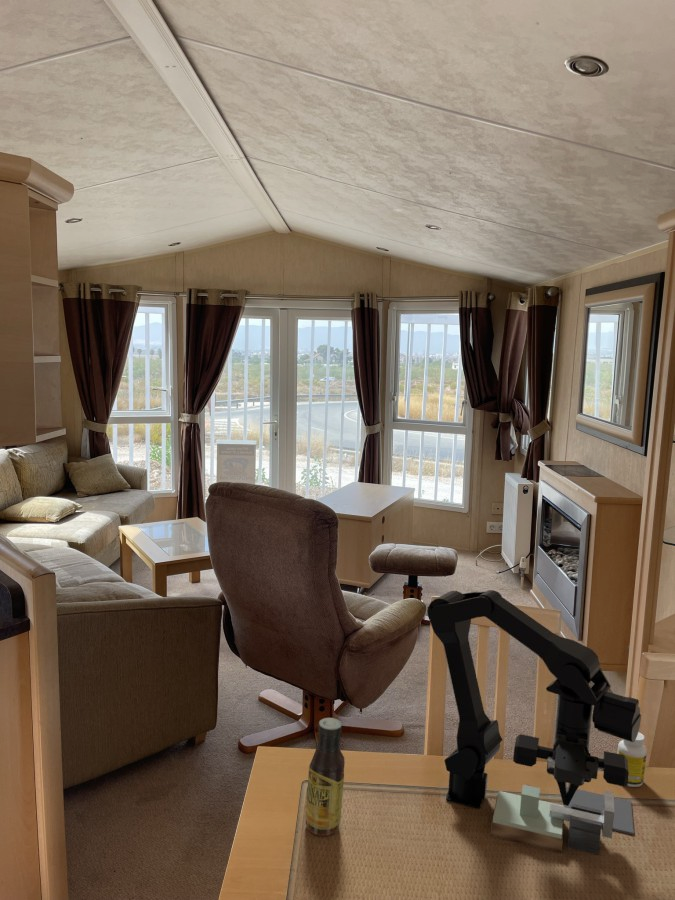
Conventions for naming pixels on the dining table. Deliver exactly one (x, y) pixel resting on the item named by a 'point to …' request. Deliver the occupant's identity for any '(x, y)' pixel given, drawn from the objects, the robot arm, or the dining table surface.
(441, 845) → the dining table surface
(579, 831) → the lock block
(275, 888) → the dining table surface
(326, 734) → the sauce bottle
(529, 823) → the cover
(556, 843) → the case
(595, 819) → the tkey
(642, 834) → the dining table surface
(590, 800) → the grey flat plate
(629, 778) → the supplement bottle
